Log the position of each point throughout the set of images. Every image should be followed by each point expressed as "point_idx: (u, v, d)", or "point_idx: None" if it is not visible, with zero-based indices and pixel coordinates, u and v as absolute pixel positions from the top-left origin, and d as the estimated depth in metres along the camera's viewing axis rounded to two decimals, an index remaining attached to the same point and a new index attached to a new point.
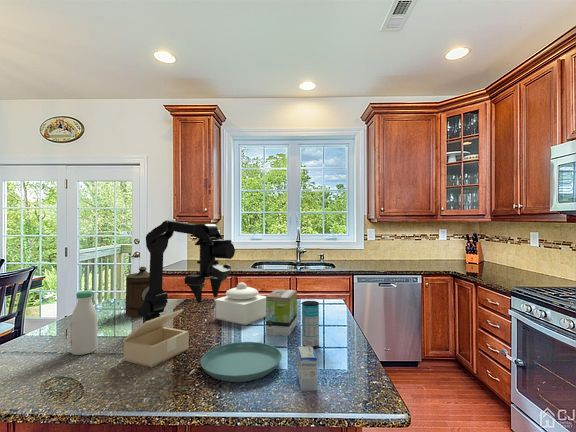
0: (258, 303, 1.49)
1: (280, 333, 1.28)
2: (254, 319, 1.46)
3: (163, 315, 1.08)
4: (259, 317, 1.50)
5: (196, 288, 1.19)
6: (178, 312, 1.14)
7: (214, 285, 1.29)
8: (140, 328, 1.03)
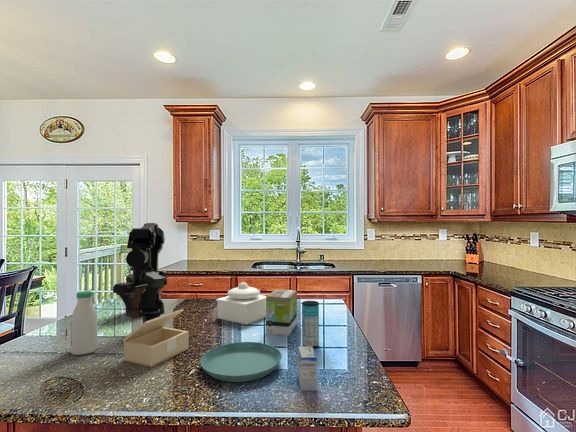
0: (259, 303, 1.49)
1: (280, 333, 1.28)
2: (255, 319, 1.47)
3: (163, 315, 1.08)
4: (261, 317, 1.50)
5: (127, 297, 1.11)
6: (178, 312, 1.14)
7: (151, 293, 1.21)
8: (140, 328, 1.03)
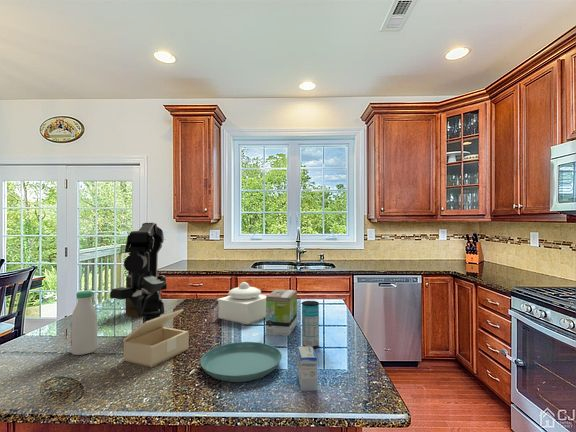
0: (260, 303, 1.49)
1: (280, 333, 1.28)
2: (256, 318, 1.47)
3: (163, 315, 1.08)
4: (262, 317, 1.50)
5: (136, 299, 1.13)
6: (178, 312, 1.14)
7: None
8: (140, 328, 1.03)
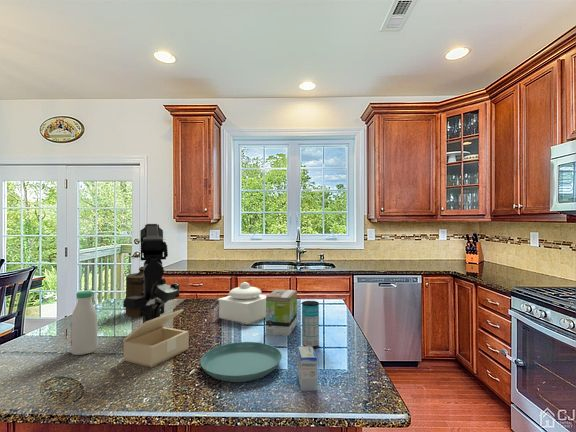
0: (261, 303, 1.50)
1: (280, 333, 1.28)
2: (257, 318, 1.47)
3: (163, 315, 1.08)
4: (262, 317, 1.50)
5: (149, 308, 1.10)
6: (178, 312, 1.14)
7: None
8: (140, 328, 1.03)
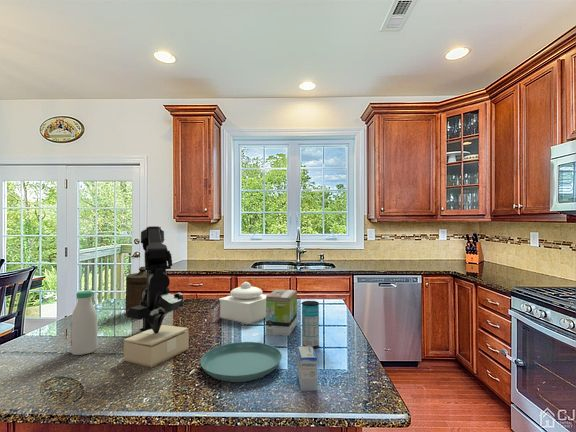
0: (262, 303, 1.50)
1: (280, 333, 1.28)
2: (258, 318, 1.48)
3: (169, 336, 1.07)
4: (263, 316, 1.51)
5: (152, 318, 1.10)
6: None
7: None
8: (144, 343, 1.02)
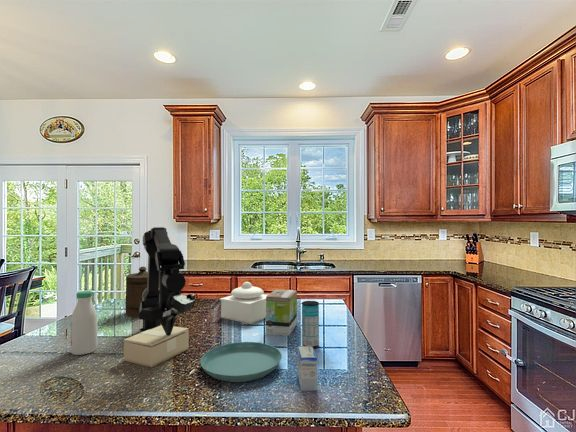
0: (263, 303, 1.50)
1: (280, 333, 1.28)
2: (259, 318, 1.48)
3: (169, 336, 1.07)
4: (264, 316, 1.51)
5: (164, 319, 1.07)
6: (183, 331, 1.13)
7: None
8: None
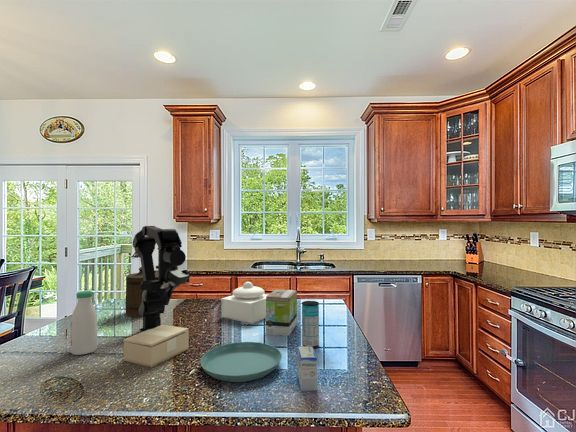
0: (264, 302, 1.50)
1: (280, 333, 1.28)
2: (260, 318, 1.48)
3: (169, 336, 1.07)
4: (265, 316, 1.51)
5: (162, 291, 1.23)
6: (183, 331, 1.13)
7: None
8: None
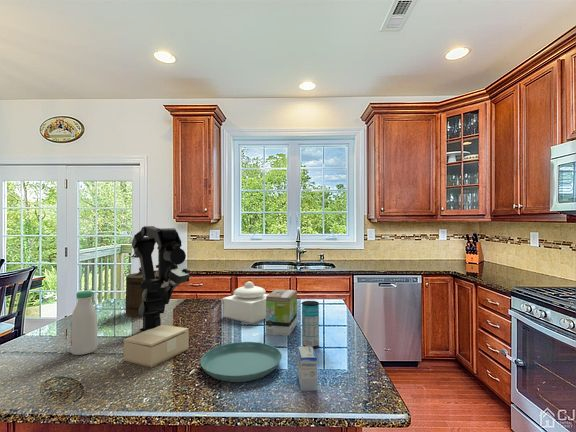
0: (265, 302, 1.51)
1: (280, 333, 1.28)
2: (261, 318, 1.48)
3: (169, 336, 1.07)
4: None
5: (163, 290, 1.24)
6: (183, 331, 1.13)
7: None
8: None
